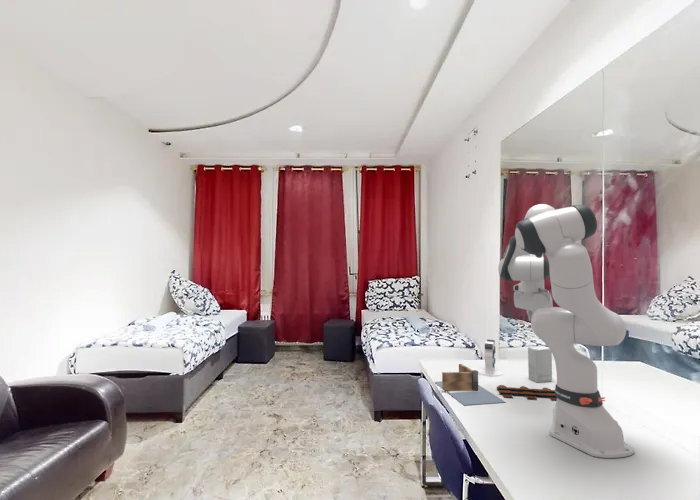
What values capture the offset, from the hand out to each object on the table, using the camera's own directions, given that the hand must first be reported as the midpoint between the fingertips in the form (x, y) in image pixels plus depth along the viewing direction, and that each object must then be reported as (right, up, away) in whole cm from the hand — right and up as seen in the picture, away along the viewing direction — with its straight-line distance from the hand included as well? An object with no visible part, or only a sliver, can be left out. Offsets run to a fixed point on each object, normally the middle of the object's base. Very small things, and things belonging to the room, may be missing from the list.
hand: (532, 321), depth 159 cm
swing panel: (-30, -29, +2) cm, 42 cm away
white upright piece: (-7, -30, +28) cm, 42 cm away
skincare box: (+11, -30, +17) cm, 36 cm away
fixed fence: (-24, -29, +8) cm, 39 cm away
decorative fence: (-2, -30, 0) cm, 30 cm away
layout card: (-26, -29, +2) cm, 39 cm away
